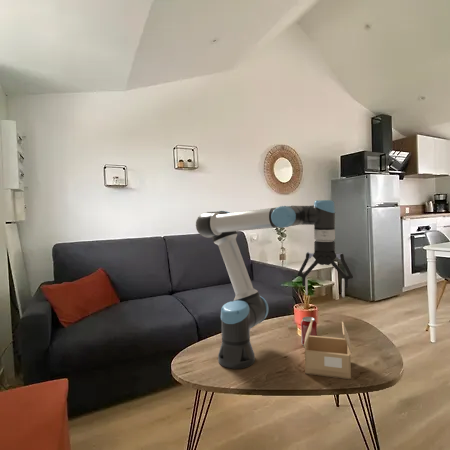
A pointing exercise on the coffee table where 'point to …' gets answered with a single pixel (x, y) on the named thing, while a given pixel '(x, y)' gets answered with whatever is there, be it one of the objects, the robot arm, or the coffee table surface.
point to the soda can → (305, 325)
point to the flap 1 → (308, 333)
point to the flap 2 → (346, 337)
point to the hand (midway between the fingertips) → (324, 295)
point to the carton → (327, 357)
